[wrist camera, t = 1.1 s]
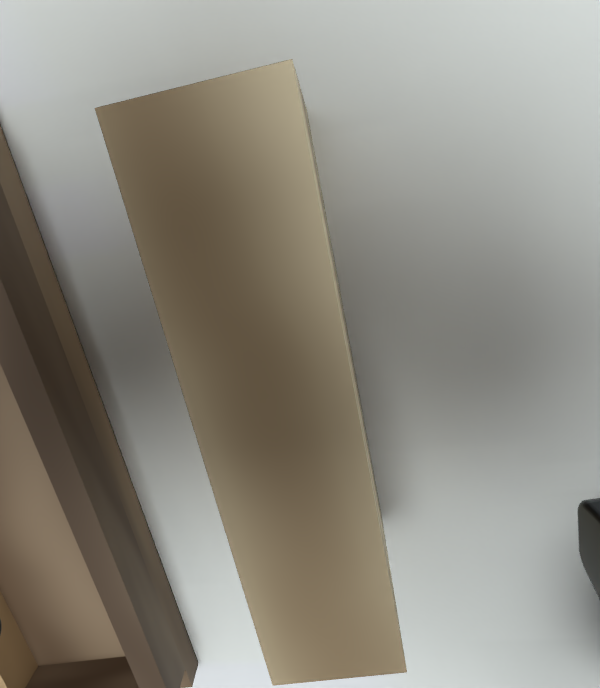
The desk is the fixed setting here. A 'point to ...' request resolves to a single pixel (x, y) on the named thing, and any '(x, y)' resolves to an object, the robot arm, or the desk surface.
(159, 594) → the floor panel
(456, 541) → the desk surface
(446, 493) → the desk surface
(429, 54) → the desk surface
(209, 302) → the oak plank
